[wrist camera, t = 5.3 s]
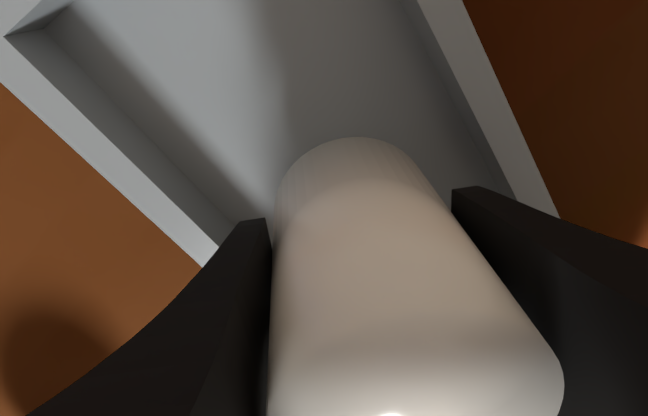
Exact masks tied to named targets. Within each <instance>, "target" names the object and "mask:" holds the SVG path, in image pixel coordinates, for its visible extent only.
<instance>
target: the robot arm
mask: <svg viewBox="0 0 648 416" xmlns="http://www.w3.org/2000/svg"><path fill="white" fill-rule="evenodd" d="M451 213H452V214H453V215H454V217H455V218H456V219H457V221H458V222H459V223H460V225H461V226H462V228H463V229H464V230H465V232H466V233H467V234H468V236H469V237H470V238H471V240H472V241H473V243H474V244H475V245H476V247H477V248H478V249H479V251H480V252H481V253H482V255H483V256H484V258H485V259H486V260H487V262H488V263H489V264H490V266H491V267H492V268H493V270H494V271H495V273H496V274H497V275H498V277H499V278H500V279H501V281H502V282H503V283H504V285H505V286H506V288H507V289H508V290H509V292H510V293H511V294H512V296H513V297H514V298H515V300H516V301H517V303H518V304H519V305H520V307H521V308H522V309H523V311H524V312H525V313H526V315H527V316H528V318H529V319H530V320H531V322H532V323H533V324H534V326H535V327H536V328H537V330H538V331H539V333H540V334H541V335H542V337H543V338H544V339H545V341H546V342H547V343H548V345H549V346H550V347H551V349H552V350H553V352H554V354H555V355H556V357H557V359H558V360H559V362H560V365H561V368H562V371H563V376H564V395H563V400H562V404H561V407H560V410H559V413H558V415H557V416H648V249H646V248H643V247H640V246H636V245H633V244H629V243H626V242H623V241H620V240H617V239H614V238H611V237H608V236H605V235H602V234H599V233H597V232H594V231H591V230H588V229H586V228H583V227H580V226H577V225H575V224H572V223H570V222H567V221H564V220H562V219H559V218H557V217H554V216H552V215H549V214H547V213H545V212H542V211H540V210H537V209H535V208H533V207H530V206H528V205H526V204H523V203H521V202H518V201H516V200H514V199H511V198H509V197H507V196H504V195H502V194H499V193H497V192H495V191H492V190H489V189H487V188H484V187H480V186H470V187H464V188H457V189H452V193H451ZM271 273H272V246H271V241H270V237H269V232H268V228H267V223H266V219H265V217H264V218H257V219H251V220H244V221H239V223H238V224H237V225H236V226H235V228H234V229H233V230H232V231H231V233H230V234H229V235H228V236H227V238H226V239H225V240H224V242H223V243H222V244H221V245H220V247H219V248H218V249H217V251H216V252H215V253H214V254H213V256H212V257H211V258H210V259H209V260H208V262H207V263H206V264H205V265H204V267H203V268H202V269H201V270H200V271H199V272H198V274H197V275H196V276H195V277H194V278H193V279H192V280H191V281H190V282H189V283H188V284H187V286H186V287H185V288H184V289H183V290H182V291H181V292H180V293H179V294H178V295H177V296H176V298H175V299H174V300H173V301H172V302H171V303H170V304H169V305H168V306H167V307H166V308H165V309H164V310H162V311H161V312H160V313H159V314H158V315H157V316H156V317H155V318H154V319H153V320H152V321H151V322H149V323H148V324H147V325H146V326H145V327H144V328H143V329H142V330H141V331H139V332H138V333H137V334H136V335H135V336H134V337H132V338H131V339H130V340H129V341H128V342H126V343H125V344H124V345H123V346H121V347H120V348H119V349H117V350H116V351H115V352H114V353H112V354H111V355H110V356H109V357H107V358H106V359H105V360H103V361H102V362H101V363H100V364H98V365H97V366H96V367H94V368H93V369H92V370H91V371H89V372H88V373H87V374H85V375H84V376H83V377H81V378H80V379H79V380H77V381H76V382H74V383H73V384H72V385H70V386H69V387H67V388H66V389H64V390H63V391H62V392H60V393H59V394H57V395H56V396H54V397H53V398H52V399H50V400H48V401H47V402H45V403H44V404H42V405H41V406H39V407H38V408H36V409H35V410H33V411H32V412H30V413H29V414H27V415H26V416H266V398H267V373H268V348H269V323H270V298H271Z"/></svg>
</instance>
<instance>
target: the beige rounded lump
mask: <svg viewBox="0 0 648 416" xmlns="http://www.w3.org/2000/svg"><path fill="white" fill-rule="evenodd" d="M563 395H564V376H563V371H562V368H561V365H560V362H559V360H558V359H557V357H556V355H555V354H554V352H553V350H552V349H551V347H550V346H549V345H548V343H547V342H546V341H545V339H544V338H543V337H542V335H541V334H540V333H539V331H538V330H537V328H536V327H535V326H534V324H533V323H532V322H531V320H530V319H529V318H528V316H527V315H526V313H525V312H524V311H523V309H522V308H521V307H520V305H519V304H518V303H517V301H516V300H515V298H514V297H513V296H512V294H511V293H510V292H509V290H508V289H507V288H506V286H505V285H504V283H503V282H502V281H501V279H500V278H499V277H498V275H497V274H496V273H495V271H494V270H493V268H492V267H491V266H490V264H489V263H488V262H487V260H486V259H485V258H484V256H483V255H482V253H481V252H480V251H479V249H478V248H477V247H476V245H475V244H474V243H473V241H472V240H471V238H470V237H469V236H468V234H467V233H466V232H465V230H464V229H463V228H462V226H461V225H460V223H459V222H458V221H457V219H456V218H455V217H454V215H453V214H452V213H451V211H450V210H449V208H448V207H447V206H446V204H445V203H444V202H443V200H442V199H441V198H440V196H439V195H438V193H437V192H436V191H435V189H434V188H433V187H432V185H431V184H430V183H429V181H428V180H427V178H426V177H425V176H424V174H423V173H422V172H421V170H420V169H419V168H418V166H417V165H416V164H415V162H414V161H413V160H412V159H411V158H410V157H409V156H408V155H407V154H406V153H404V152H403V151H402V150H400V149H399V148H397V147H395V146H394V145H392V144H389V143H387V142H385V141H381V140H378V139H374V138H367V137H347V138H340V139H336V140H332V141H329V142H326V143H323V144H321V145H319V146H317V147H315V148H313V149H311V150H310V151H308V152H307V153H305V154H304V155H303V156H301V157H300V158H299V159H298V160H297V161H296V162H295V163H294V164H293V165H292V166H291V167H290V169H289V170H288V171H287V172H286V174H285V176H284V177H283V179H282V181H281V183H280V185H279V187H278V190H277V194H276V197H275V204H274V223H273V248H272V273H271V298H270V323H269V348H268V373H267V398H266V416H557V415H558V413H559V410H560V407H561V404H562V400H563Z"/></svg>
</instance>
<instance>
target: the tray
mask: <svg viewBox="0 0 648 416" xmlns="http://www.w3.org/2000/svg"><path fill="white" fill-rule="evenodd" d="M0 82H1V83H2V84H3V85H4V86H5V87H6V88H7V89H9V90H10V91H11V92H12V93H13V94H14V95H15V96H16V97H17V98H18V99H19V100H21V101H22V102H23V103H24V104H25V105H26V106H27V107H28V108H29V109H30V110H31V111H33V112H34V113H35V114H36V115H37V116H38V117H39V118H40V119H41V120H42V121H43V122H45V123H46V124H47V125H48V126H49V127H50V128H51V129H52V130H53V131H54V132H55V133H57V134H58V135H59V136H60V137H61V138H62V139H63V140H64V141H65V142H66V143H67V144H69V145H70V146H71V147H72V148H73V149H74V150H75V151H76V152H77V153H78V154H79V155H81V156H82V157H83V158H84V159H85V160H86V161H87V162H88V163H89V164H90V165H91V166H92V167H94V168H95V169H96V170H97V171H98V172H99V173H100V174H101V175H102V176H103V177H104V178H106V179H107V180H108V181H109V182H110V183H111V184H112V185H113V186H114V187H115V188H116V189H118V190H119V191H120V192H121V193H122V194H123V195H124V196H125V197H126V198H127V199H128V200H130V201H131V202H132V203H133V204H134V205H135V206H136V207H137V208H138V209H139V210H140V211H142V212H143V213H144V214H145V215H146V216H147V217H148V218H149V219H150V220H151V221H152V222H154V223H155V224H156V225H157V226H158V227H159V228H160V229H161V230H162V231H163V232H164V233H166V234H167V235H168V236H169V237H170V238H171V239H172V240H173V241H174V242H175V243H176V244H178V245H179V246H180V247H181V248H182V249H183V250H184V251H185V252H186V253H187V254H188V255H190V256H191V257H192V258H193V259H194V260H195V261H196V262H197V263H198V264H199V265H200V266H202V267H204V265H205V264H206V263H207V262H208V260H209V259H210V258H211V257H212V256H213V254H214V253H215V252H216V251H217V249H218V248H219V247H220V245H221V244H222V243H223V242H224V240H225V239H226V238H227V236H228V235H229V234H230V233H231V231H232V230H233V229H234V228H235V226H236V225H237V224H238V223H239V221H244V220H251V219H257V218H264V217H265V219H266V223H267V228H268V232H269V237H270V241H271V246H272V248H273V223H274V204H275V197H276V194H277V190H278V187H279V185H280V183H281V181H282V179H283V177H284V176H285V174H286V172H287V171H288V170H289V169H290V167H291V166H292V165H293V164H294V163H295V162H296V161H297V160H298V159H299V158H300V157H301V156H303V155H304V154H305V153H307V152H308V151H310V150H311V149H313V148H315V147H317V146H319V145H321V144H323V143H326V142H329V141H332V140H336V139H340V138H347V137H367V138H374V139H378V140H381V141H385V142H387V143H389V144H392V145H394V146H395V147H397V148H399V149H400V150H402V151H403V152H404V153H406V154H407V155H408V156H409V157H410V158H411V159H412V160H413V161H414V162H415V164H416V165H417V166H418V168H419V169H420V170H421V172H422V173H423V174H424V176H425V177H426V178H427V180H428V181H429V183H430V184H431V185H432V187H433V188H434V189H435V191H436V192H437V193H438V195H439V196H440V198H441V199H442V200H443V202H444V203H445V204H446V206H447V207H448V208H449V210H450V211H451V193H452V189H457V188H464V187H470V186H480V187H484V188H487V189H489V190H492V191H495V192H497V193H499V194H502V195H504V196H507V197H509V198H511V199H514V200H516V201H518V202H521V203H523V204H526V205H528V206H530V207H533V208H535V209H537V210H540V211H542V212H545V213H547V214H549V215H552V216H554V217H557V218H559V219H560V217H559V215H558V212H557V210H556V208H555V206H554V204H553V201H552V199H551V197H550V195H549V192H548V190H547V188H546V186H545V184H544V181H543V179H542V177H541V175H540V172H539V170H538V168H537V166H536V164H535V161H534V159H533V157H532V155H531V152H530V150H529V148H528V146H527V144H526V141H525V139H524V137H523V135H522V133H521V130H520V128H519V126H518V124H517V121H516V119H515V117H514V115H513V113H512V110H511V108H510V106H509V104H508V101H507V99H506V97H505V95H504V93H503V90H502V88H501V86H500V84H499V82H498V79H497V77H496V75H495V73H494V70H493V68H492V66H491V64H490V62H489V59H488V57H487V55H486V53H485V50H484V48H483V46H482V44H481V42H480V39H479V37H478V35H477V33H476V30H475V28H474V26H473V24H472V22H471V19H470V17H469V15H468V13H467V11H466V8H465V6H464V4H463V2H462V0H0Z"/></svg>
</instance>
